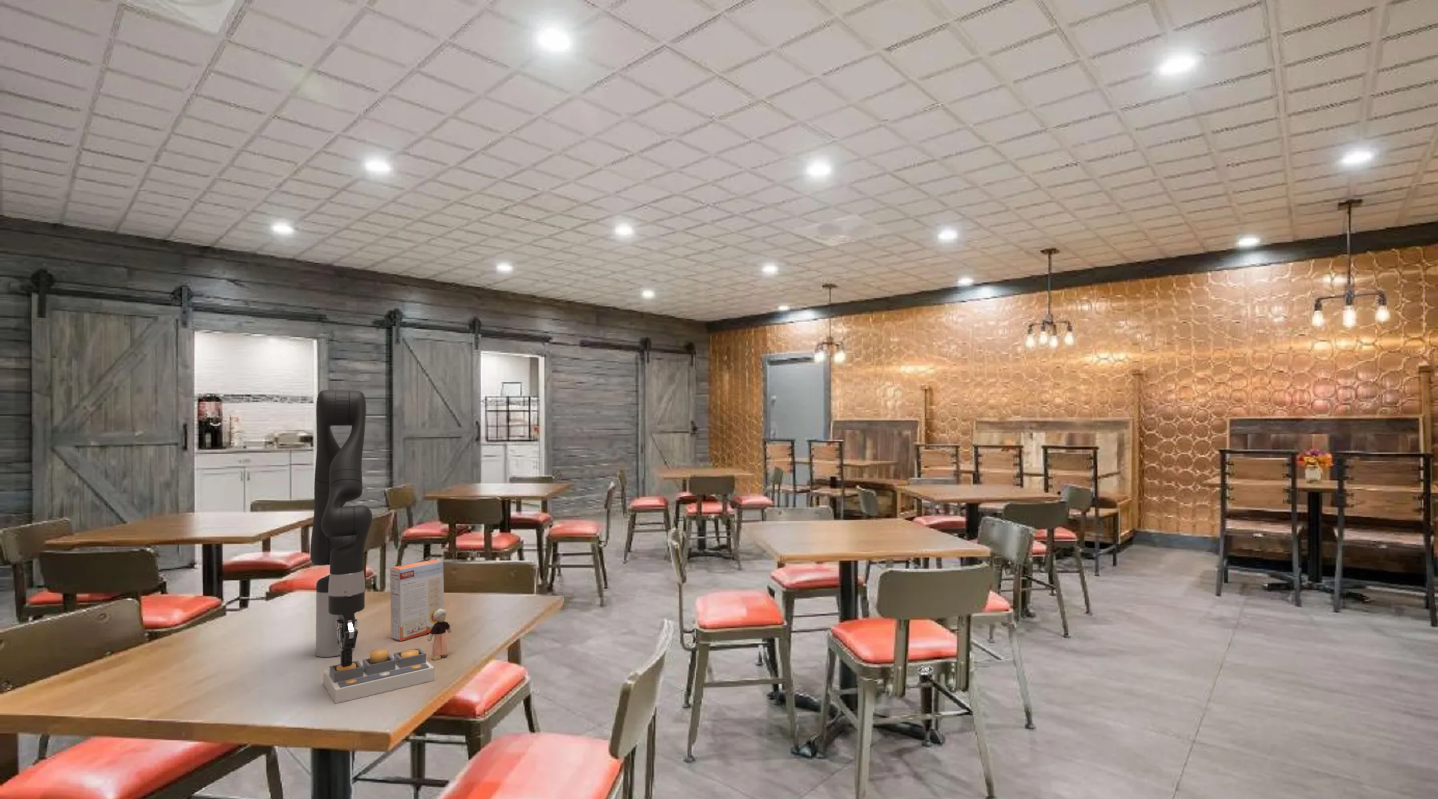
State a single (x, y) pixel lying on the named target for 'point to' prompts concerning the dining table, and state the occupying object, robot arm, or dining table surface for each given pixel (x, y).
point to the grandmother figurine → (439, 635)
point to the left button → (340, 668)
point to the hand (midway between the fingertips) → (346, 665)
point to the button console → (377, 676)
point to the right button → (409, 653)
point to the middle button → (378, 655)
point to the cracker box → (415, 598)
